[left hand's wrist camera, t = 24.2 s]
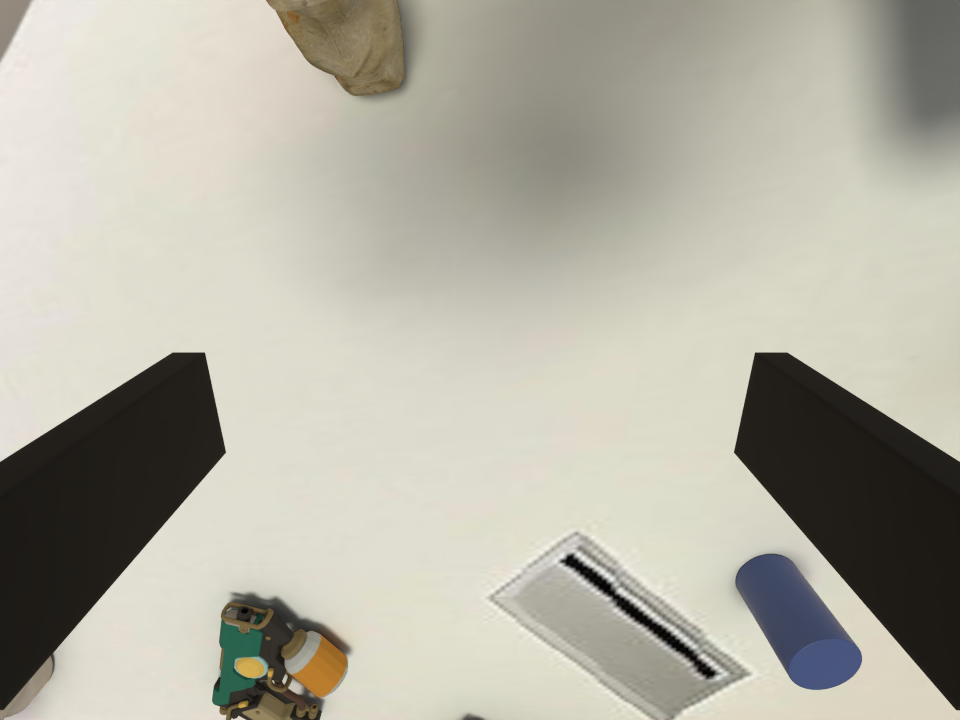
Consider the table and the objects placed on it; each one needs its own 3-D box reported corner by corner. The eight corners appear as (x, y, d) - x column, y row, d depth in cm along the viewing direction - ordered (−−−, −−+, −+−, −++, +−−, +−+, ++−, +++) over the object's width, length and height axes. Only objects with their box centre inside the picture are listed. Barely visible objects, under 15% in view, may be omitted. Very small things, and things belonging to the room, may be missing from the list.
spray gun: (310, 724, 59) (187, 670, 56) (376, 643, 52) (241, 578, 50) (295, 766, 55) (163, 710, 52) (365, 683, 49) (218, 616, 46)
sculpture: (406, -37, 32) (346, -189, 18) (424, 93, 34) (384, 50, 20) (313, -24, 32) (183, -164, 18) (338, 104, 35) (241, 68, 21)
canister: (723, 578, 50) (773, 666, 41) (772, 543, 48) (835, 627, 40) (759, 608, 51) (815, 700, 43) (808, 575, 50) (876, 663, 41)
